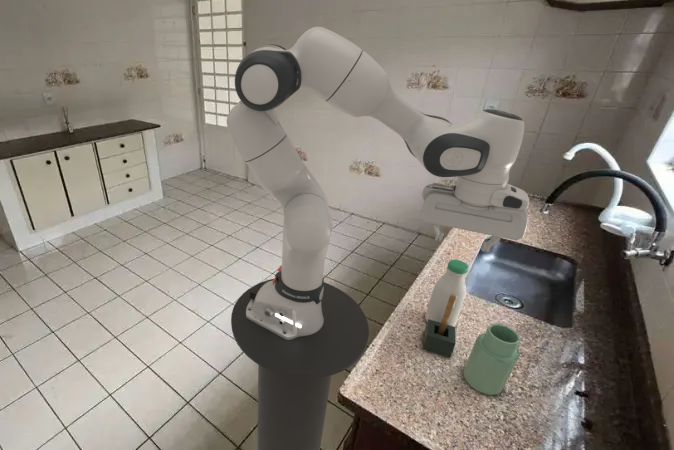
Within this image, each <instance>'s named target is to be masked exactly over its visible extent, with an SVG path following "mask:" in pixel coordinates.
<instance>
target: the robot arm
mask: <svg viewBox="0 0 674 450" xmlns="http://www.w3.org/2000/svg"><path fill="white" fill-rule="evenodd" d="M234 87H235V93H236V95H237V97H238V99H239V100H240V101H239V102H238V103H236V104H235V105H234V106H233V107H231V109H230V111H229V112H228V114H227V117H226V126H227V129H228V132H229V134H230V137H231V138H232V141H233V143H234V145H235V147H236V148H237V151H238V152H239V154H240V156H241V157H242V159H243V160H244V162H245V164H246V165H247V167H248V169H249V170H250V171H251V173H252V175H253V176H254V178H255V179H256V180H257V182H258V184H259V185H260V187H261V188H262V189H263V190H264V191H266V192H268V193H269V194H270V195H271V196H272V197H273V198H274V199H275V200H276V201H277V202H278V203H279V205H280V207H281V208H282V212H283V223H282V224H283V225H282V251H281V252H282V253H281V265H280V266H279V267H278V268H277V271H278V272H276V273H275V274H274V278H272V279H273V281H269V282H267V283H266V284H264V285H263V284H261V282H258V283H257V285H256V284H255V285H256V286H255V287H254V288H253V289H252V290H251V291H250V298H251V300H250V302H249V304H248V306H247V308H246V318H248V319H249V320H251V321H253V322H255V323H257V324H258V325H260V326H262V327H264V328H266V329H268V330H269V331H271V332H273V333H275V334H277V335H279V336H280V337H282V338H284V339H286V340H292V339H294V338H296V337H299V336H307V335H311V334H314V333H316V332H317V331H319V330H320V329H321V327H322V326H323V323H324V318H323V314H322V308H321V299H322V297H323V290H324V282H325V279H324V272H325V271H324V270H325V261H326V257H327V256H326V255H327V252H328V249H329V245H330V239H331V235H332V229H333V221H332V220H333V219H332V215H331V210H330V206H329V200H328V196H327V194H326V192H325V191H324V189H323V188H322V185H320V183H319V182H318V181H317V179H316V178H315V175H313V173H312V172H311V170H309V168H308V167H307V166H306V164H305V163H304V161H303V160H302V158H301V156H300V154H299V153H298V151H297V150H296V148H295V146H294V144H293V142H292V141H291V139H290V137H289V136H288V134H287V132H286V131H285V129H284V128H283V125H281V122H280V120H279V118H278V115H277V111H276V110H277V108H278V107H279V106H281V105H282V104H284V103H285V102H286V101H287V100H288V99H289V98H291V96H293V95H294V94H295V93H296V92H298V91H299V90H300V88H301V89H305V90H309V91H310V92H312V93H314V94H315V95H316V96H318V97H319V98H320V99H322V100H323V101H324V102H326V103H327V104H329V105H330V106H332V107H333V108H335V109H336V110H339V112H342V113H345V114H347V115H349V116H351V117H354V118H360V117H370V118H373V119H375V120H377V121H378V122H380V123H381V124H383V125H384V126H386V127H387V128H389V129H390V130H392V131H393V132H395V133H396V134H397V135H398V136H400V137H401V138H402V140H403V141H404V143H405V145H406V148H407V150H408V151H409V153H410V154H411V155H412V156H413V157H414V158H415V159H416V160H417V161H418V162H419V163H420V165H421V166H422V167H423V168H424V169H425V170H426V171H427V172H428V173H430V174H431V175H432V176H435V177H438V178H455V177H457V179H456V182H455V185H452V184H441V183H439V182H433V183H430V184H427V185H425V186H424V187H423V190H422V194H421V197H422V199H423V202H422V204H421V207H420V210H419V212H418V218H419V221H420V222H424V223H428V224H431V225H432V224H433V226H432V229H433V231H434V233H435V238H434V241H435V242H438V243H439V242H440V243H442V242H443V240H444V239H443V238H444V232H443V231H442V232H441V230H440V229H441V226H443V227H448V228H453V229H456V230H457V229H458V230H462V231H468V232H473V233H478V234H481V235H482V234H483V235H488V236H491V238H490V239H489V240H488V241H485V240H484V241H482V243H481V244H482V245H481V247H480V251H481V252H485V253H490V251H491V248H492V247H493V246H495V245H497V244H498V243H500V241H501V239H502V238H503V239H506V240H512V241H519V240H522V239H523V238H524V236H525V234H526V231H527V227H528V223H529V213H528V208H529V205H530V197H529V194H528V193H527V192H526V191H525V190H524V189H522V188H519V187H517V186H514V185H512V184H510V183H509V181H510V170H511V168H512V166H513V165H514V164H515V162H516V160H517V159H518V155H519V152H520V150H521V147H522V143H523V139H524V134H525V121H524V120H523V118H521V117H520V116H519V115H517V114H514V113H510V112H507V111H504V110H499V109H493V108H487V109H482V110H481V111H480V112H479V113H478V114H475V115H474V116H472V117H470V118H468V119H465V120H463V121H460V122H457V123H454V124H453V123H451V121H449V120H448V119H446V118H444V117H442V116H439V115H432V114H426V113H424V112H422V111H420V110H419V109H417V108H416V107H414V106H413V105H412V104H411V103H409V102H408V101H406V100H405V99H404V98H402V97H401V96H400V95H399V94H398V93H397V92H396V91H395V90H394V89H393V87H392V85H391V82H390V79H389V75H388V73H387V71H385V70H384V69H383V67H382V66H381V65H380V64H379V63H378V62H377V60H375V59H374V57H372V56H371V55H370V54H369V53H368V52H366V51H365V50H363V48H361V47H359V46H358V45H356V43H354V42H352V41H351V40H349V39H347V38H346V37H344V36H342V35H340V34H338V33H336V32H334V31H332V30H330V29H328V28H326V27H323V26H313V27H311V28H309V29H308V30H306V31H304V33H302V34H301V35H300V36H299V38H298V39H297V40H296V42H295V43H294V45H293V46H292V47H291V48H289V49H287V48H285V47H284V46H281V45H279V44H274V43H273V44H271V43H269V44H266V45H261V46H258V47H256V48H253V50H252V51H250V52H249V53H248V54H247V55H245V57H243V59H242V60H241V61H240V62H239V64H238V66H237V68H236V71H235V75H234Z"/></svg>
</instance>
